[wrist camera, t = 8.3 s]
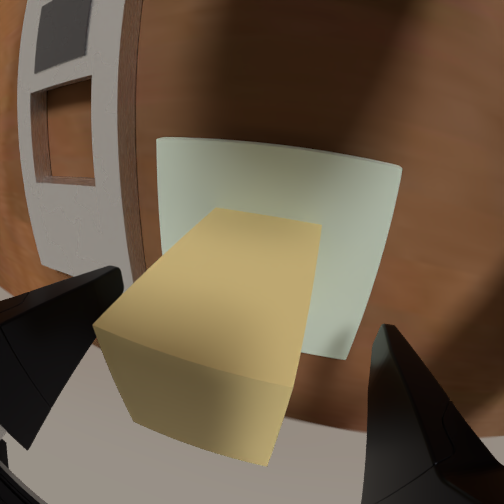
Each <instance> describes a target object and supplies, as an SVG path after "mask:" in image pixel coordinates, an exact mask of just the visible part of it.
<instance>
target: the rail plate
mask: <svg viewBox="0 0 504 504" xmlns="http://www.w3.org/2000/svg"><path fill="white" fill-rule="evenodd" d="M142 1H143V0H28V1H27V6H26V11H25V17H24V23H23V29H22V36H21V45H20V54H19V67H18V92H17V109H18V134H19V147H20V158H21V167H22V174H23V181H24V188H25V194H26V200H27V205H28V210H29V215H30V220H31V225H32V229H33V233H34V237H35V241H36V245H37V249H38V253H39V256H40V260H41V263H42V265H44V266H47V267H50V268H52V269H55V270H58V271H60V272H63V273H66V274H69V275H71V276H74V277H75V276H78V275H81V274H84V273H87V272H90V271H93V270H96V269H99V268H103V267H106V266H109V265H112V266H116V267H119V268H120V270H121V273H122V278H123V283H124V291H123V293H124V292H125V291H126V290H127V289H128V288H129V287H130V286H131V285H132V284H133V283H134V282H135V281H136V280H137V279H138V278H139V277H141V276H142V275H143V274H144V273H145V272H146V267H145V259H144V252H143V243H142V235H141V225H140V214H139V203H138V189H137V173H136V149H135V87H136V65H137V49H138V37H139V27H140V17H141V9H142ZM88 79H92V87H91V121H92V147H93V162H94V174H95V178H82V177H58V176H51V168H50V158H49V146H48V130H47V91H48V90H52V89H55V88H58V87H62V86H65V85H69V84H73V83H76V82H80V81H84V80H88Z"/></svg>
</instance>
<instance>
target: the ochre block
mask: <svg viewBox="0 0 504 504" xmlns="http://www.w3.org/2000/svg"><path fill="white" fill-rule="evenodd" d="M321 229H322V225H320V224H315V223H309V222H303V221H298V220H292V219H286V218H280V217H274V216H268V215H262V214H256V213H249V212H243V211H237V210H230V209H223V208H217V207H216V208H214V209H213V210H212V211H211V212H210V213H209V214H208V215H207V216H205V217H204V218H203V219H202V220H201V221H200V222H199V223H198V224H196V225H195V226H194V227H193V228H192V229H191V230H190V231H189V232H188V233H186V234H185V235H184V236H183V237H182V238H181V239H180V240H179V241H178V242H177V243H176V244H174V245H173V246H172V247H171V248H170V249H169V250H168V251H167V252H166V253H165V254H164V255H163V256H162V257H160V258H159V259H158V260H157V261H156V262H155V263H154V264H153V265H152V266H151V267H150V268H149V269H148V270H147V271H146V272H145V273H144V274H143V275H142V276H141V277H139V278H138V279H137V280H136V281H135V282H134V283H133V284H132V285H131V286H130V287H129V288H128V289H127V290H126V291H125V292H124V293H123V294H122V295H121V296H120V297H119V298H118V299H117V300H116V301H115V302H114V303H113V304H112V305H111V306H110V307H109V308H108V309H107V310H106V311H105V312H104V313H103V314H102V315H101V316H100V317H99V318H98V319H97V320H96V321H95V322H94V324H93V328H94V331H95V334H96V337H97V339H98V342H99V345H100V347H101V350H102V353H103V355H104V358H105V360H106V363H107V365H108V367H109V370H110V372H111V375H112V377H113V379H114V382H115V384H116V386H117V388H118V390H119V393H120V395H121V397H122V399H123V401H124V403H125V405H126V407H127V410H128V412H129V413H130V416H131V417H132V419H133V421H134V422H135V423H138V424H140V425H142V426H144V427H147V428H149V429H151V430H153V431H156V432H158V433H161V434H163V435H166V436H168V437H171V438H173V439H176V440H179V441H181V442H184V443H187V444H190V445H193V446H195V447H199V448H201V449H204V450H207V451H211V452H214V453H217V454H220V455H224V456H227V457H231V458H234V459H238V460H242V461H246V462H250V463H254V464H258V465H262V466H267V465H268V462H269V460H270V457H271V454H272V451H273V448H274V445H275V442H276V440H277V437H278V434H279V431H280V428H281V425H282V422H283V419H284V416H285V412H286V409H287V406H288V403H289V400H290V396H291V393H292V390H293V386H294V382H295V377H296V372H297V368H298V363H299V358H300V353H301V349H302V344H303V338H304V333H305V328H306V323H307V317H308V312H309V306H310V301H311V295H312V289H313V283H314V277H315V270H316V264H317V257H318V251H319V244H320V236H321Z"/></svg>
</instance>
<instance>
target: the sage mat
mask: <svg viewBox="0 0 504 504" xmlns="http://www.w3.org/2000/svg"><path fill="white" fill-rule="evenodd" d="M156 141H157V182H158V203H159V219H160V233H161V245H162V256H163V255H164V254H165V253H166V252H167V251H168V250H169V249H170V248H171V247H172V246H173V245H174V244H176V243H177V242H178V241H179V240H180V239H181V238H182V237H183V236H184V235H185V234H186V233H188V232H189V231H190V230H191V229H192V228H193V227H194V226H195V225H196V224H198V223H199V222H200V221H201V220H202V219H203V218H204V217H205V216H207V215H208V214H209V213H210V212H211V211H212V210H213V209H214V208H216V207H217V208H223V209H230V210H237V211H243V212H249V213H256V214H262V215H268V216H274V217H280V218H286V219H292V220H298V221H303V222H309V223H315V224H320V225H322V229H321V236H320V244H319V251H318V257H317V264H316V270H315V277H314V283H313V289H312V295H311V301H310V306H309V312H308V317H307V323H306V328H305V333H304V338H303V344H302V349H301V352H303V353H308V354H313V355H319V356H324V357H330V358H336V359H342V360H346V358H347V356H348V353H349V351H350V348H351V346H352V343H353V340H354V338H355V335H356V333H357V330H358V327H359V324H360V322H361V319H362V316H363V313H364V311H365V308H366V305H367V302H368V299H369V296H370V293H371V290H372V287H373V284H374V280H375V277H376V274H377V271H378V267H379V264H380V261H381V257H382V254H383V250H384V247H385V243H386V239H387V235H388V232H389V228H390V224H391V220H392V216H393V211H394V207H395V203H396V198H397V194H398V189H399V184H400V179H401V174H402V168H401V167H400V166H399V165H395V164H391V163H386V162H382V161H377V160H372V159H367V158H362V157H357V156H352V155H346V154H341V153H335V152H329V151H323V150H316V149H309V148H302V147H295V146H287V145H279V144H270V143H260V142H250V141H238V140H225V139H208V138H185V137H163V138H158V139H156Z"/></svg>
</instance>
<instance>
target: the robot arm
mask: <svg viewBox="0 0 504 504" xmlns="http://www.w3.org/2000/svg"><path fill="white" fill-rule="evenodd" d="M123 291H124V283H123V278H122V273H121V270H120V268H119V267H116V266H112V265H109V266H106V267H103V268H99V269H96V270H93V271H90V272H87V273H84V274H81V275H78V276H75V277H72V278H69V279H66V280H63V281H60V282H57V283H54V284H51V285H48V286H45V287H42V288H39V289H36V290H33V291H30V292H27V293H24V294H21V295H18V296H15V297H12V298H9V299H5V300H2V301H0V504H47V503H46V502H45V501H44V500H42V499H41V498H40V497H39V496H37V495H36V494H35V493H34V492H33V491H32V490H30V489H29V488H28V487H27V486H26V485H25V484H24V483H23V482H22V481H20V480H19V479H18V478H17V477H16V476H15V475H14V474H13V473H12V472H11V471H10V470H9V467H8V458H7V446H6V442H5V441H4V440H3V439H2V437H3V436H4V435H5V433H6V432H8V433H9V434H10V435H11V436H12V437H13V438H14V439H15V440H16V441H17V442H18V443H19V444H21V445H22V446H23V447H24V448H25V449H26V450H28V449H29V448H30V446H31V444H32V443H33V441H34V439H35V437H36V435H37V433H38V432H39V430H40V428H41V426H42V424H43V423H44V421H45V419H46V417H47V415H48V414H49V412H50V410H51V408H52V406H53V405H54V403H55V401H56V400H57V398H58V396H59V395H60V393H61V391H62V390H63V388H64V386H65V385H66V383H67V382H68V380H69V378H70V377H71V375H72V374H73V372H74V370H75V369H76V367H77V365H78V364H79V363H80V361H81V359H82V358H83V356H84V355H85V353H86V352H87V350H88V349H89V347H90V346H91V344H92V343H93V341H94V340H95V338H96V334H95V331H94V328H93V324H94V322H95V321H96V320H97V319H98V318H99V317H100V316H101V315H102V314H103V313H104V312H105V311H106V310H107V309H108V308H109V307H110V306H111V305H112V304H113V303H114V302H115V301H116V300H117V299H118V298H119V297H120V296H121V295H122V293H123ZM361 504H504V466H503V465H502V464H500V463H499V462H498V461H497V460H496V459H495V457H494V456H493V455H492V454H491V453H490V451H489V450H488V449H487V447H486V446H485V445H484V444H483V443H482V442H481V440H480V439H479V437H478V436H477V435H476V434H475V433H474V431H473V430H472V429H471V427H470V426H469V425H468V424H467V422H466V421H465V420H464V418H463V417H462V415H461V414H460V413H459V411H458V410H457V409H456V407H455V406H454V404H453V403H452V401H450V399H449V397H448V396H447V394H446V393H445V392H444V390H443V389H442V387H441V386H440V385H439V383H438V382H437V380H436V379H435V378H434V376H433V375H432V374H431V372H430V371H429V369H428V368H427V367H426V365H425V364H424V363H423V361H422V360H421V359H420V357H419V356H418V355H417V353H416V352H415V351H414V349H413V348H412V347H411V346H410V344H409V343H408V342H407V340H406V339H405V338H404V337H403V335H402V334H401V333H400V331H399V330H398V329H397V328H396V327H395V326H394V325H390V324H382V325H381V327H380V329H379V331H378V334H377V336H376V338H375V341H374V343H373V347H372V356H371V367H370V376H369V385H368V417H367V444H366V461H365V473H364V484H363V493H362V501H361Z"/></svg>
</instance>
